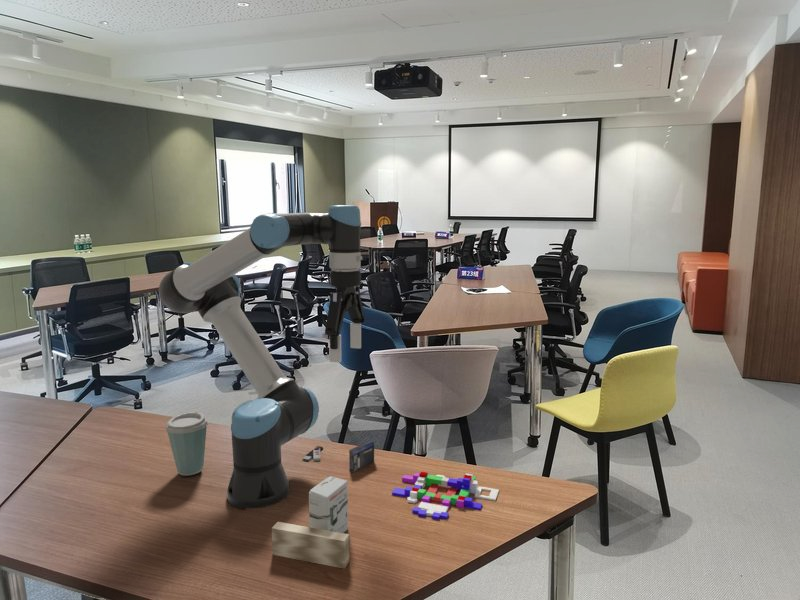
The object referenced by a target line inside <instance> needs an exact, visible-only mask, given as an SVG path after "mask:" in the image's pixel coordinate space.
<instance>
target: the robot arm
mask: <svg viewBox="0 0 800 600" xmlns="http://www.w3.org/2000/svg"><path fill="white" fill-rule="evenodd" d="M361 221H362V220H361V209H360V207H359V206H358V205H353V204H351V205H349V204H347V205H346V204H345V205H343V204H341V205H340V204H338V205H337V204H336V205H334V204H333V205H330V206H329V208H328V212H325V213H320V212H305V211H304V212H293V213H292V212H291V213H275V212H270V213H269V212H267V213H264V214H260V215H258V216H256V217H255V218H254V219H253V220H252V223H251V225H250V227H249V228H248V229H246V230H244V231H242V232H241V233H240V234H238V235H235V236H234V237H233V238H231V239H229V240H228V241H226V242H225V243H222V244H221V245H220V246H218V247H217V248H215V249H214V250H212V251H210V252H208V253H207V254H205V255H203V256H202V257H200V258H198V259H196V260H195V261H194V262H192V263H191V264H188V265H187V264H181V265H179V266H178V267H176V268H174V269H173V270H171V271H169V272H168V273H166V274H165V275H164V276H163V277H162V279H161V281H160V283H159V285H158V295H159V298H160V301H161V302H162V304H163V305H164V306H165V307H166V308H167V309H169V310H170V311H172V312H174V313H178V314H189V313H190V314H191V313H194V312H195V313H196V312H198V313H199V315H200V316H201V318H202V320H203V321H204V322H206V323H210V324H212V325H213V327H214V328H215V330H216V331H217V333H218V335H219V336H220V337H221V339H222V341H223V342H224V344H225V345H226V347H227V348H228V350H229V351H230V352H229V353H231V355H232V356H233V359H235V361H236V362H237V364H238V366H239V367H240V369H241V370H242V372H243V374H244V375H245V377H246V378H247V380H248V382H249V383H250V384H251V386H252V387H253V389H254V391H255V392H256V394H257V398H255V399H254V400H253V399H251V400H247V401H245V402H243V403H241V404H239V405H238V406H237V407H236V408H235V409H234V410H233V412H232V415H231V424H230V431H231V444H232V461H233V462H232V463H233V469H232V473H231V476H230V478H229V482H228V486H227V491H226V496H227V501H228V503H229V504H230V505H231V506H232V507H233V508H237V509H240V510H246V509H258V508H266V507H269V506H272V505H274V504H277V503H279V502H281V501H283V500H286V499H287V498H288V497H289V495H290V482H289V479H288V477H287V474H286V472H285V468H284V466H283V464H282V463H283V462H282V446H283V445H285V444H286V443H288V442H290V441H292V440H293V439H295V438H297V437H298V436H300V435H303V434H305V433H306V432H307V431H309V429H311V428H312V427H313V426H315V424H316V423H317V421H318V419H319V412H320V406H319V401H318V399H317V396H316V395H315V394H314V392H313V391H312V390H311V389H309V388H306V387H304V386H299V385H298V383H297V382H296V380H295V379H294V378H290V377H287V376H286V375H285V374H284V372H283V371H282V369H281V368H280V365H279V364H278V363H277V361H276V360H275V359H274V357H273V356H272V354H271V352H270V350H268V348H267V347H266V345H265V343H264V341H263V340H262V339H261V337H260V336H259V334H258V332H257V331H256V330H255V328H254V326H253V325H252V323H251V322H250V320H249V319H248V317H247V316H246V314H245V312H244V311H243V310H242V308H241V303H242V298H241V297H240V296H241V288H240V287H241V283H240V280H239V278H238V276H237V275H236V274H238V273H239V272H241V271H243V270H245V269H247V268H248V267H250V266H252V265H253V264H255V263H257V262H259V261H261V260H262V259H264V258H266V257H267V256H269V255H271V254H273V253H275V252H277V251H278V250H280V249H282V248H284V247H291V246H299V245H312V244H314V245H315V244H316V245H329V253H328V254H329V256H328V257H329V268H330V269H331V270H330V272H329V285H330V286H331V287H335V292H330V293H329V306H328V312H327V316H326V323H325V329H324V334H325V336H329V339H328V341H329V362H331V363H342V334H340V333H341V330H342V326H343V322H344V319H345V315H346V312H348V315H349V317H350V321H351V322H350V323H349V325H350V326H349V327H350V331H349V333H350V336H349V337H350V344H349V345H350V348H351V349H362V324H365V323H366V321H365V319H366V318H365V312H364V307H363V301H362V296H361V288H360V286H361V283H362V272H361V270H360V268H361V261H363V256H362V255H361V231H362V230H361V227H362V222H361Z"/></svg>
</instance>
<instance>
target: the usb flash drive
mask: <svg viewBox="0 0 800 600" xmlns="http://www.w3.org/2000/svg"><path fill="white" fill-rule="evenodd" d="M323 450H324V447H323V446H319V445H317V446H315V447H314V448H313V449H312V450H311V451H309V452H307V454H305V456H303V457H302V461H304V462H310V461H311V460H312V459H313V460H312V461H313V462H321V452H322V451H323Z"/></svg>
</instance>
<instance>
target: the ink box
mask: <svg viewBox="0 0 800 600" xmlns="http://www.w3.org/2000/svg"><path fill="white" fill-rule="evenodd" d="M348 486H349V485H348V480H346V479H342V478H339V477H336V476H328V477H326V478H325V479H324V480H322V481H321V482H319V483H318V484H316V485H315V486H314V487H313V488H311V489H310V490H309V492H308V511H309V512H308V515H309V516H308V517H309V518H308V520H309V522H308V523H309V525H308V527H311V528H316V529H322V530H328V531H333V532H339V533H345V532H347V531H348V530H349V529H348V528H349V514H348V513H349V507H348V506H349V501H348V500H349V499H348V496H349V495H348V494H349V493H348V490H349V489H348Z"/></svg>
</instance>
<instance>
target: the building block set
mask: <svg viewBox="0 0 800 600" xmlns="http://www.w3.org/2000/svg"><path fill="white" fill-rule="evenodd" d="M401 482H403V483H409V484H413V485H414V487H412V486H406V487H405V488H401V487H394V489H393V490H392V491H391V495H392V496H395V497H396V496H398V497H401V498H405V497H406V501H407V503H411V504H416V503H418V499H420V500H421V501H420V503H419V504H418V506H414V507H413V508H412V513H413V514H417V516H418V517H422V518H426V516H427V517H431V519H432V520H438V521H440V519H444V520H448V517H449V515H450V513H449V512H448V510H449V508H450V506H451V505H455V506H456V508H459V509H464V508H467V509H470V510H471V509H473V510H477V511H481V510H482V507H483V503H481V502H476V501H475V502H474V500H473V499H474V498H477V499H482V500H488V501H489V500H490V501H494V502H495V501H496V500H497V497H498V494H499V492H500V489H497V488H492V487H487V486H482V485H481V486H480V485H479V482H478V480H476V476H475V475H474V474H473V473H467V472H466V473H465V474H464V476H463V478H461V477H458V478H453V477H446V476H445V475H443V474H436V475H435V474H429V472H426V471H420V472H414V474H412V475H408V474H404V475H402V477H401ZM426 486H427V487H429V488H428V489H424V488H425V487H426ZM439 489H445V490H447V491H446V494H439V493H437V492H438V491H439ZM482 491H485V492H486V491H488V492H489V495H483V494H482V493H481V492H482ZM458 492H459V493H458ZM457 493H458V494H457ZM470 494H473V495H474V498H473V497H470ZM431 501H432V502H435V503H441V504H434V503H431ZM412 513H411V514H412Z"/></svg>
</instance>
